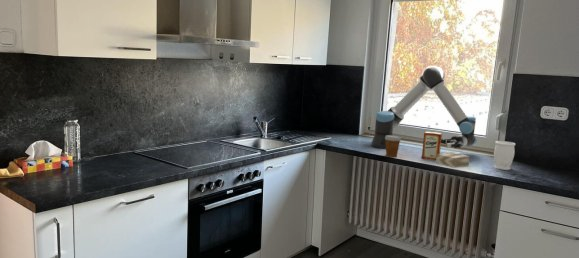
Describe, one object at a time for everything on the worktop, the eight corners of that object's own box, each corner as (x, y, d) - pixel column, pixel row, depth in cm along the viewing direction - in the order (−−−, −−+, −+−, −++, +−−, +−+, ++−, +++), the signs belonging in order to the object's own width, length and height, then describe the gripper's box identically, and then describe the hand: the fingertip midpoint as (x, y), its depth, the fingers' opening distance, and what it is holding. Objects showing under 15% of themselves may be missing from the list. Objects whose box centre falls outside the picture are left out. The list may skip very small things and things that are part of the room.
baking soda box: (421, 158, 271) (424, 132, 269) (423, 156, 277) (425, 130, 275) (438, 160, 267) (440, 133, 265) (439, 158, 273) (442, 132, 271)
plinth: (435, 162, 261) (436, 154, 260) (450, 160, 269) (451, 152, 268) (453, 167, 251) (454, 158, 250) (468, 164, 259) (469, 156, 258)
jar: (495, 165, 262) (498, 140, 259) (514, 168, 255) (517, 142, 253) (489, 168, 254) (492, 141, 251) (509, 171, 247) (512, 144, 245)
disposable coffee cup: (388, 157, 268) (389, 137, 266) (380, 154, 277) (382, 134, 275) (402, 157, 270) (404, 137, 268) (394, 154, 279) (396, 135, 278)
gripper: (475, 151, 276) (455, 153, 263) (440, 143, 296) (420, 146, 283) (476, 139, 275) (456, 141, 262) (441, 132, 295) (421, 134, 282)
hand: (437, 143), depth 273 cm, fingers open, 13 cm apart
